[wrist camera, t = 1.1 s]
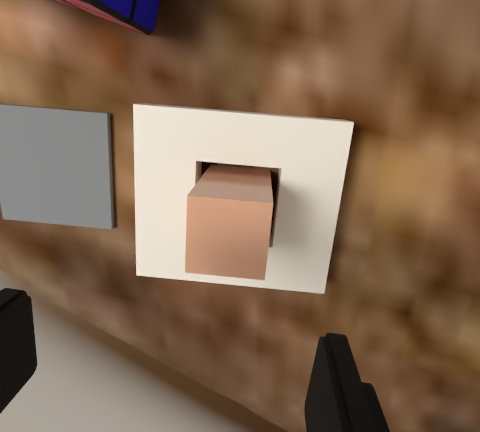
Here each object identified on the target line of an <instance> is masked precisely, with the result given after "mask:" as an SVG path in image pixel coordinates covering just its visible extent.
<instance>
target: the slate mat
mask: <svg viewBox="0 0 480 432" xmlns="http://www.w3.org/2000/svg"><path fill="white" fill-rule="evenodd" d="M0 202H1V209H2V216H3V219H8V220H18V221H29V222H39V223H50V224H60V225H71V226H81V227H92V228H103V229H113V228H114V202H113V177H112V151H111V125H110V113H102V112H90V111H78V110H67V109H55V108H43V107H31V106H19V105H7V104H0Z"/></svg>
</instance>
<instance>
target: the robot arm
mask: <svg viewBox="0 0 480 432" xmlns="http://www.w3.org/2000/svg"><path fill="white" fill-rule="evenodd" d="M36 367H37V356H36V345H35V335H34V324H33V313H32V303H31V298H30V296H27V293H26V292H25V291H23V290H17V289H9V288H4V289H3V290H1V291H0V413H1V412H2V411H3V410H4V409H5V407H6V406H7V405H8V404H9V402H10V401H11V400H12V399H13V398H14V397H15V395H16V394H17V393H18V392H19V391H20V389H21V388H22V387H23V386H24V385H25V384H26V382H27V381H28V380H29V379H30V378H31V376H32V375H33V374H34V372H35V370H36ZM305 421H306V430H307V432H390V431H389V428H388V425H387V423H386V420H385V417H384V414H383V412H382V409H381V406H380V403H379V401H378V398H377V395H376V392H375V390H374V388H373V386H372V385H371V384H370V383H364V382H361V379H360V376H359V373H358V370H357V367H356V364H355V361H354V358H353V355H352V352H351V349H350V346H349V343H348V340H347V337H346V335H342V334H334V333H327V334H326V336H325V337H320V338H319V342H318V346H317V351H316V355H315V360H314V364H313V369H312V373H311V378H310V383H309V387H308V392H307V396H306V401H305Z"/></svg>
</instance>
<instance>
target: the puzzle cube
mask: <svg viewBox="0 0 480 432" xmlns="http://www.w3.org/2000/svg"><path fill="white" fill-rule="evenodd" d="M55 1H58V2H61V3H63V4H66V5H69V6H71V7H74V8H77V9H80V10H82V11H87V12H89V13H91V14H93V15H96V16H98V17H101V18H104V19H106V20H109V21H112V22H114V23H117V24H120V25H122V26H125V27H128V28H130V29H133V30H136V31H138V32H141V33H144V34H147V35H149V34H150V33H152V32H153V29H154V25H155V21H156V16H157V12H158V8H159V4H160V0H55Z"/></svg>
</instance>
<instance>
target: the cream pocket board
mask: <svg viewBox="0 0 480 432" xmlns="http://www.w3.org/2000/svg"><path fill="white" fill-rule="evenodd" d="M133 117H134V170H135V224H136V275H139V276H149V277H159V278H169V279H180V280H190V281H200V282H210V283H220V284H230V285H240V286H251V287H261V288H271V289H281V290H291V291H301V292H311V293H321V294H324V292H325V286H326V280H327V275H328V269H329V263H330V258H331V252H332V246H333V240H334V235H335V229H336V223H337V218H338V212H339V206H340V200H341V195H342V189H343V183H344V177H345V172H346V166H347V160H348V155H349V149H350V143H351V137H352V132H353V126H354V122H351V121H347V120H341V119H329V118H316V117H304V116H292V115H280V114H268V113H256V112H244V111H232V110H220V109H208V108H196V107H184V106H172V105H159V104H147V103H144V104H133ZM202 161H203V162H214V163H225V164H237V165H248V166H260V167H271V168H279V173H278V182H277V191H276V200H275V208H274V217H273V226H272V234H270V238H269V247H268V256H267V265H266V274H265V280H256V279H246V278H235V277H225V276H215V275H205V274H194V273H185V252H186V219H187V195H188V194H189V192H190V191H191V190H192V189H193V187H194V186H195V185H196V183H197V182H198V181H199V179H200V178H201V174H202Z"/></svg>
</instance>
